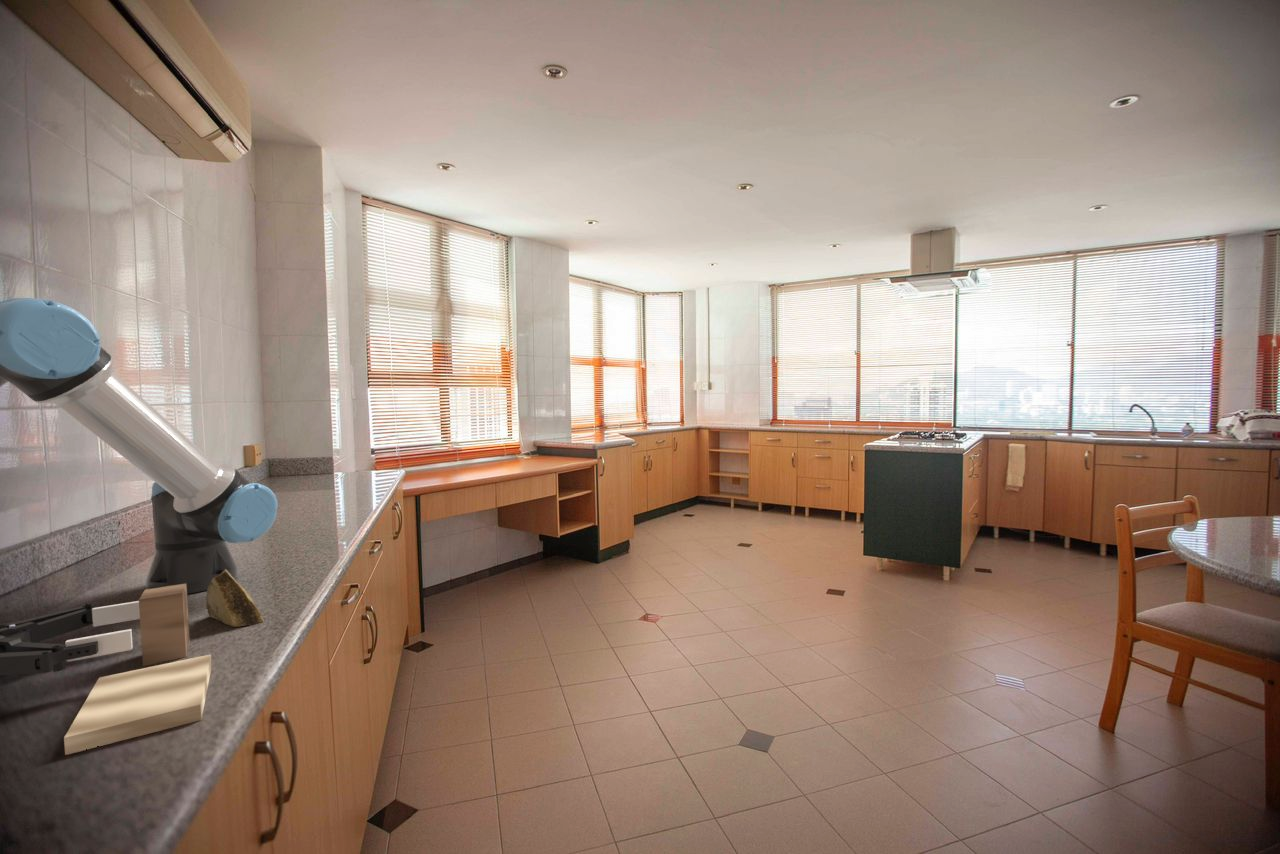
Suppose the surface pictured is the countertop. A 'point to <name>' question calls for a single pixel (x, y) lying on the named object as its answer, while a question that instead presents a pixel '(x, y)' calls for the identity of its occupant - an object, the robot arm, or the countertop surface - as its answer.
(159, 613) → the walnut block
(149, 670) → the cutting board
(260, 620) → the rock
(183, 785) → the countertop surface
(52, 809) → the countertop surface
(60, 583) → the countertop surface
